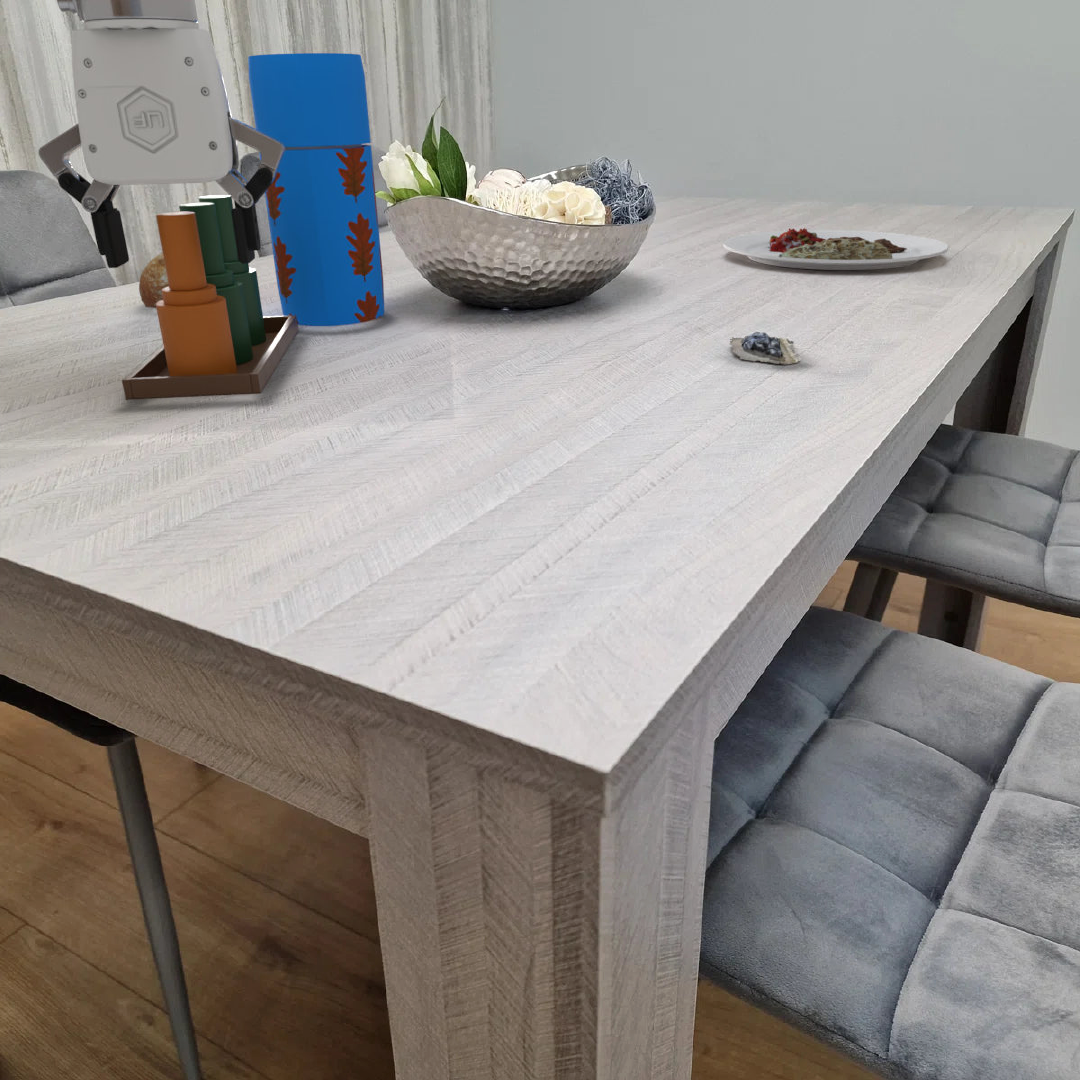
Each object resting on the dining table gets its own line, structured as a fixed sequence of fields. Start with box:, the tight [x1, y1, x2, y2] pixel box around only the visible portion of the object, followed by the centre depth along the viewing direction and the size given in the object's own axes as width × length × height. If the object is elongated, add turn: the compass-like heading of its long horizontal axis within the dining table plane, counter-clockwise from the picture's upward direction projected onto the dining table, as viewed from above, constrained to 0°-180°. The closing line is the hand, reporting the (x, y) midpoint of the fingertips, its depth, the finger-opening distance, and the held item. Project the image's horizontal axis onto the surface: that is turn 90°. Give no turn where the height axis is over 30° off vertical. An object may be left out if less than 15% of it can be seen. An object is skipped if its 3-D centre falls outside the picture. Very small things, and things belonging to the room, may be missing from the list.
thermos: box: [247, 52, 385, 327], centre depth 94 cm, size 11×11×25 cm
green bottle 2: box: [198, 194, 266, 346], centre depth 86 cm, size 5×5×13 cm
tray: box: [121, 315, 299, 401], centre depth 82 cm, size 10×22×2 cm, turn 6°
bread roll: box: [138, 252, 169, 308], centre depth 109 cm, size 10×10×8 cm
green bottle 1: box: [178, 202, 253, 365], centre depth 80 cm, size 5×5×13 cm
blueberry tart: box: [729, 331, 802, 366], centre depth 83 cm, size 7×8×2 cm
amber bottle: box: [155, 211, 237, 376], centre depth 73 cm, size 5×5×13 cm
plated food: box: [723, 227, 949, 271], centre depth 131 cm, size 30×30×3 cm
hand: (183, 263), depth 72 cm, fingers open, 9 cm apart
